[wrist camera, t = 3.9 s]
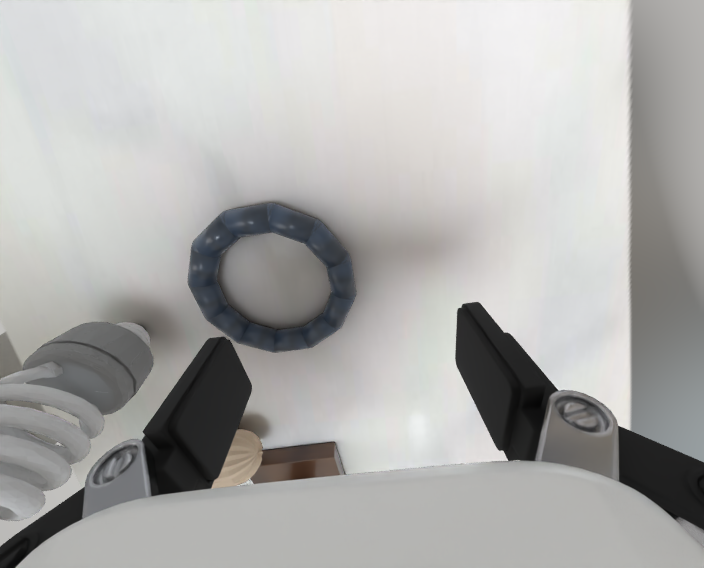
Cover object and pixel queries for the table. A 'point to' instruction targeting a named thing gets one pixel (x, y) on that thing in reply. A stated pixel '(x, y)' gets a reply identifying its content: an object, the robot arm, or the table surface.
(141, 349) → the light bulb
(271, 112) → the table surface
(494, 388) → the robot arm
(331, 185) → the table surface
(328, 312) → the segmented blue ring
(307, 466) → the stand
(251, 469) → the figurine
